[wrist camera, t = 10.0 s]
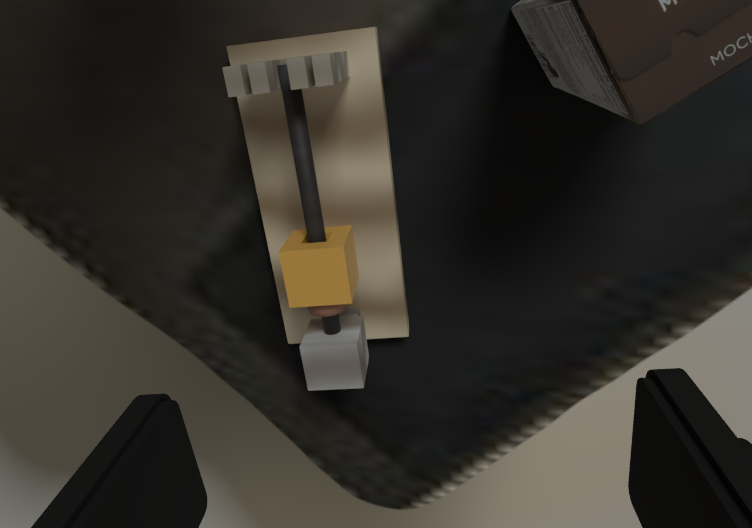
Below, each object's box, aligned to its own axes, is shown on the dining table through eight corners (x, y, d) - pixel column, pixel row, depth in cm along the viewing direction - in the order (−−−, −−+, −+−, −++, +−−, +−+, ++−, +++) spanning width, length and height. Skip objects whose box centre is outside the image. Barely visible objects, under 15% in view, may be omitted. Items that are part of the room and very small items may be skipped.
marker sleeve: (293, 230, 38) (278, 252, 34) (351, 225, 37) (343, 246, 33) (302, 281, 39) (289, 307, 35) (359, 277, 39) (352, 303, 35)
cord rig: (233, 45, 37) (182, 48, 29) (376, 27, 36) (363, 24, 28) (292, 335, 46) (265, 397, 38) (409, 328, 44) (405, 391, 37)
